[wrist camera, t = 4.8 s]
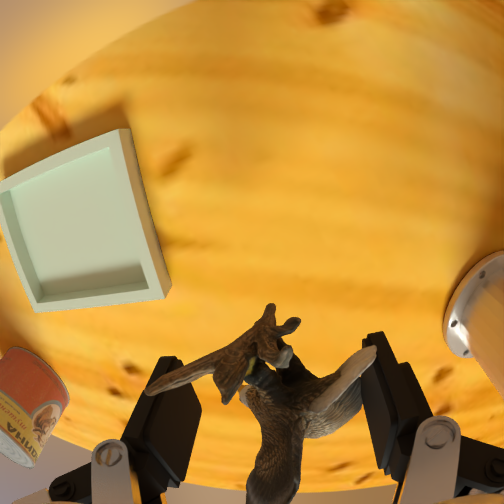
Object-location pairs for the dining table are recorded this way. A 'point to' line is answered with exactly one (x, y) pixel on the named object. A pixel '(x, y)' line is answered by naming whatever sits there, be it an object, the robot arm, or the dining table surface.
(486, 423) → the dining table surface
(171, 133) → the dining table surface
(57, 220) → the tray
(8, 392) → the canned food
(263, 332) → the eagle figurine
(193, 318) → the dining table surface
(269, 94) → the dining table surface
